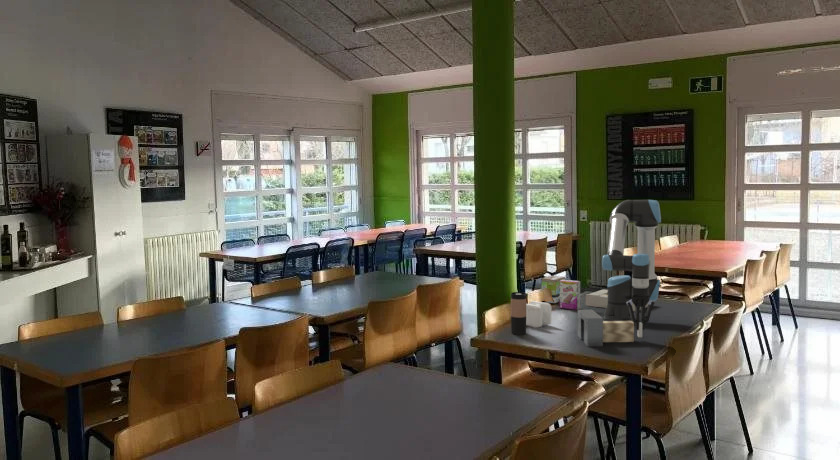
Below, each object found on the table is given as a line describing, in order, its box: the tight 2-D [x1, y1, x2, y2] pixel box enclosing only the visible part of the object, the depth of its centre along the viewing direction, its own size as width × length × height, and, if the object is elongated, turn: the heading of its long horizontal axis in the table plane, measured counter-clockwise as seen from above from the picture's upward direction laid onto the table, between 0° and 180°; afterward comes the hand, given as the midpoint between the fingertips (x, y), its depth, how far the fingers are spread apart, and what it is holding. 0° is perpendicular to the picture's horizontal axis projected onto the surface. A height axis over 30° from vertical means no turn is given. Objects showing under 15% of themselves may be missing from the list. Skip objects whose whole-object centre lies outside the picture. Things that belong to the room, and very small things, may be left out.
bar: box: [603, 320, 635, 343], centre depth 326 cm, size 18×5×9 cm, turn 90°
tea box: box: [540, 275, 566, 304], centre depth 428 cm, size 15×10×15 cm
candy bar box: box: [558, 279, 581, 311], centre depth 403 cm, size 11×5×16 cm, turn 58°
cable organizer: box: [526, 300, 553, 329], centre depth 360 cm, size 15×11×12 cm
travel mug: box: [510, 291, 527, 336], centre depth 343 cm, size 8×8×20 cm
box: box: [584, 289, 649, 312], centre depth 411 cm, size 23×8×32 cm
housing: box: [577, 309, 604, 347], centre depth 325 cm, size 7×20×13 cm, turn 0°
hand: (639, 336), depth 326 cm, fingers closed
